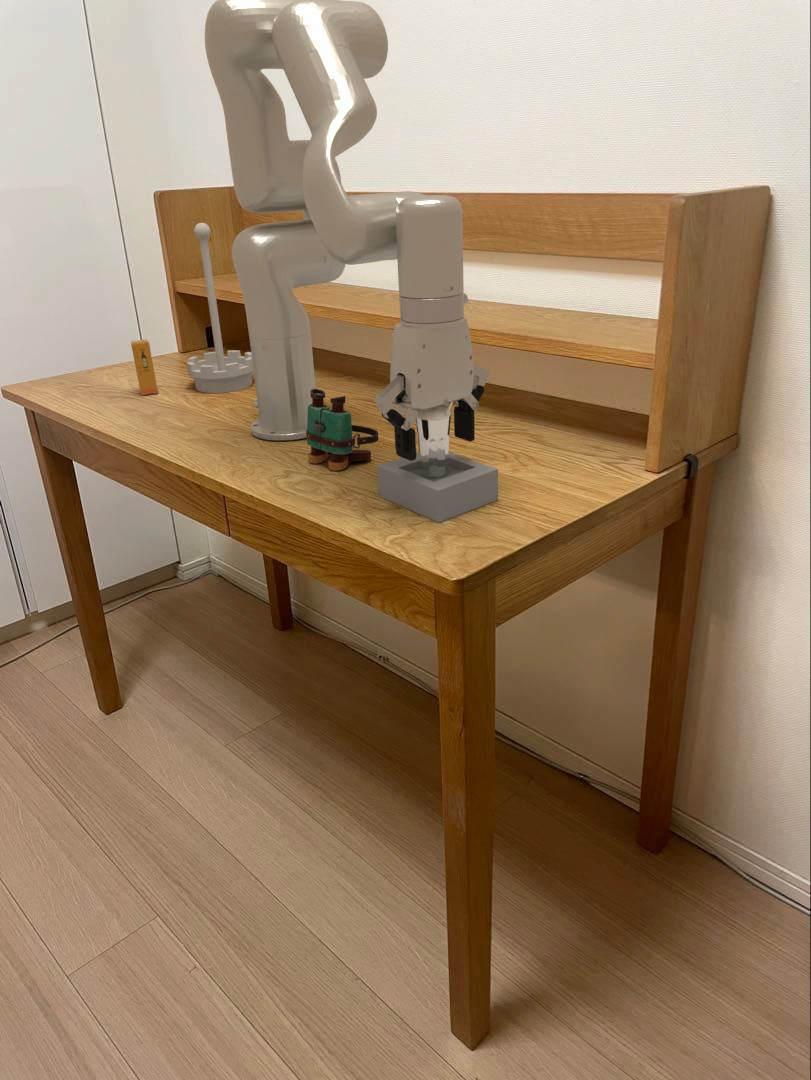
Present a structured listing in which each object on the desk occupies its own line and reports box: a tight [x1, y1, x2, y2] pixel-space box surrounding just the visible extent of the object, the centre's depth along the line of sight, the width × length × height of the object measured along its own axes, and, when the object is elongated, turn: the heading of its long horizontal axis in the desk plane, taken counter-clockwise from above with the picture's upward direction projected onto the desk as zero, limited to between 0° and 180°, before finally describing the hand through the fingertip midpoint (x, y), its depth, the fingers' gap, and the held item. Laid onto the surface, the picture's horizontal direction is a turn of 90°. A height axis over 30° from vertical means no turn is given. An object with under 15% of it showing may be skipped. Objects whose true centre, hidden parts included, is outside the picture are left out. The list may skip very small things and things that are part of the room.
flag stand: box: [186, 222, 254, 394], centre depth 159 cm, size 13×13×30 cm
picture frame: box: [376, 451, 499, 524], centre depth 108 cm, size 12×10×4 cm
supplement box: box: [130, 339, 159, 397], centre depth 160 cm, size 3×3×10 cm
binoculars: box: [306, 388, 379, 472], centre depth 122 cm, size 9×11×10 cm
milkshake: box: [414, 402, 454, 478], centre depth 106 cm, size 4×5×10 cm
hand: (436, 448), depth 106 cm, fingers open, 9 cm apart
